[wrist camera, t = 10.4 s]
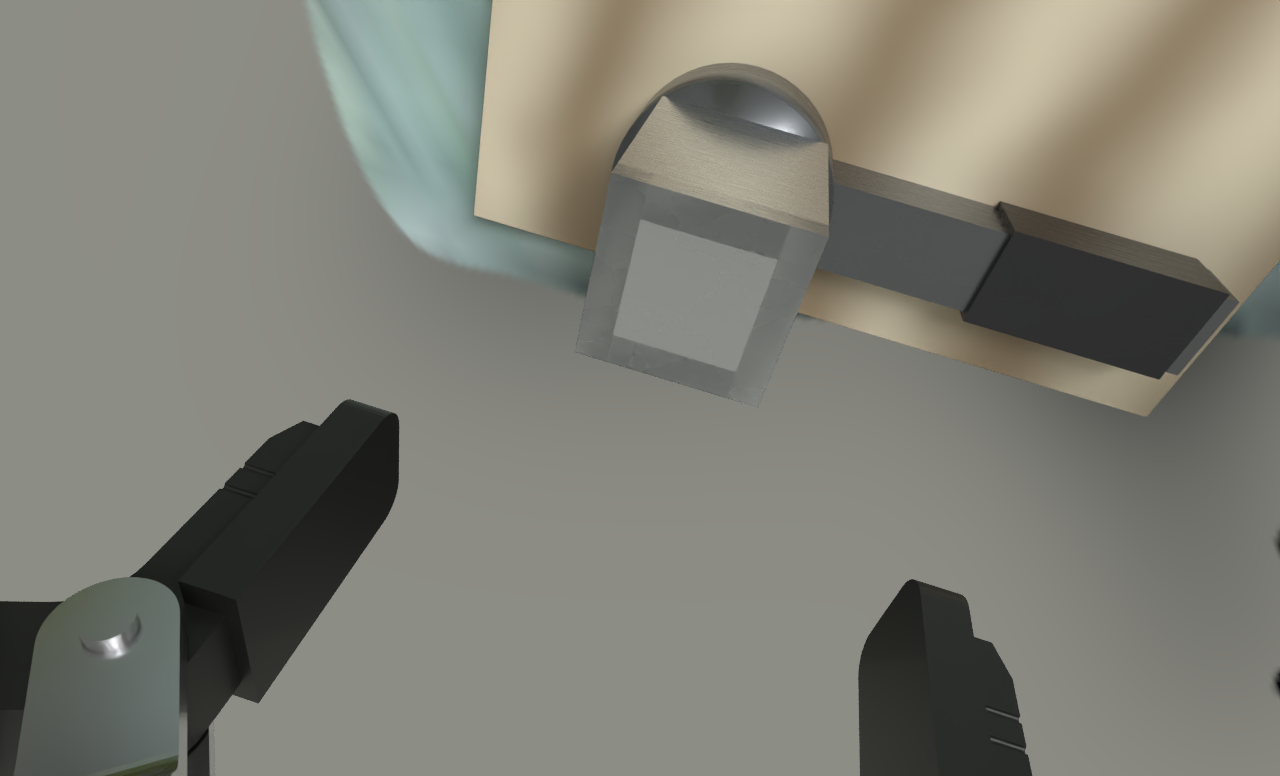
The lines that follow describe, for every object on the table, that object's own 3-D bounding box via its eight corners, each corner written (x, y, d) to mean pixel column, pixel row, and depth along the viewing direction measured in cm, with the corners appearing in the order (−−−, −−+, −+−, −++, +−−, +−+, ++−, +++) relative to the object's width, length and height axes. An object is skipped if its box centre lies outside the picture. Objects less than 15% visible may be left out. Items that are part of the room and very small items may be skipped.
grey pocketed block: (828, 144, 20) (829, 237, 15) (772, 290, 22) (757, 407, 18) (662, 95, 20) (611, 172, 15) (627, 246, 23) (574, 351, 18)
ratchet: (1256, 211, 21) (1407, 337, 15) (1117, 386, 25) (1199, 536, 19) (652, 35, 21) (593, 97, 16) (609, 234, 25) (550, 338, 20)
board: (1585, -154, 16) (1632, -154, 15) (1134, 396, 26) (1146, 417, 25) (549, -437, 17) (532, -454, 16) (486, 202, 27) (473, 215, 26)
